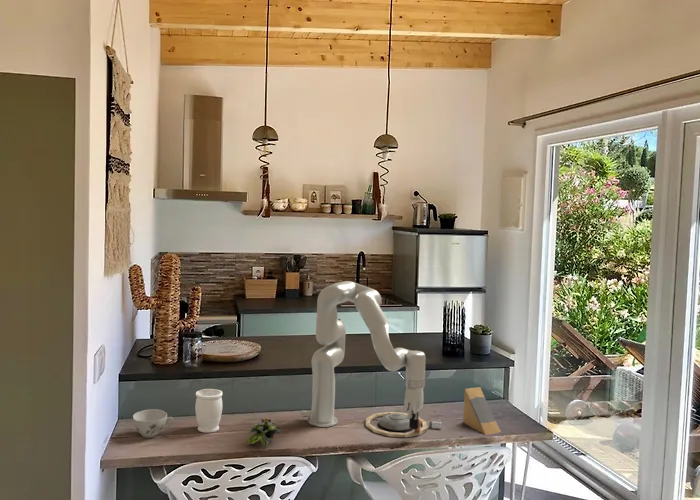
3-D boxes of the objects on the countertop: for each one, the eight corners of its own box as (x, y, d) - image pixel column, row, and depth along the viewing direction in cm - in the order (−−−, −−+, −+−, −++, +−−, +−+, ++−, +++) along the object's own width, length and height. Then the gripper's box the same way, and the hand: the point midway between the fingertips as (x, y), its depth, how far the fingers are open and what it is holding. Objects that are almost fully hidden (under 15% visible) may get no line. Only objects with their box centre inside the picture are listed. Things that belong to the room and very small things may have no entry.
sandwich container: (485, 435, 247) (487, 399, 245) (462, 422, 260) (464, 388, 259) (501, 432, 251) (504, 397, 249) (478, 420, 264) (480, 386, 263)
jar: (227, 427, 243) (228, 391, 242) (211, 436, 234) (211, 398, 233) (206, 422, 248) (206, 386, 246) (189, 430, 238) (190, 393, 237)
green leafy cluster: (265, 454, 232) (282, 426, 235) (269, 460, 222) (288, 431, 225) (240, 438, 230) (258, 411, 233) (244, 444, 220) (263, 415, 223)
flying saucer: (419, 424, 256) (419, 411, 256) (406, 436, 243) (407, 422, 242) (386, 417, 263) (387, 405, 262) (372, 428, 249) (373, 415, 249)
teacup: (130, 442, 225) (130, 421, 225) (134, 429, 237) (135, 409, 237) (172, 440, 229) (172, 419, 228) (174, 427, 241) (174, 408, 240)
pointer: (429, 428, 251) (429, 422, 251) (429, 426, 253) (429, 421, 253) (441, 429, 251) (441, 423, 251) (441, 427, 253) (441, 421, 252)
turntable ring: (364, 434, 241) (365, 420, 241) (367, 412, 267) (367, 399, 266) (428, 438, 240) (429, 424, 239) (425, 416, 265) (425, 402, 264)
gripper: (412, 376, 245) (411, 420, 247) (399, 386, 232) (397, 432, 233) (430, 379, 242) (429, 424, 243) (417, 389, 229) (416, 436, 230)
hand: (413, 428), depth 238 cm, fingers closed
